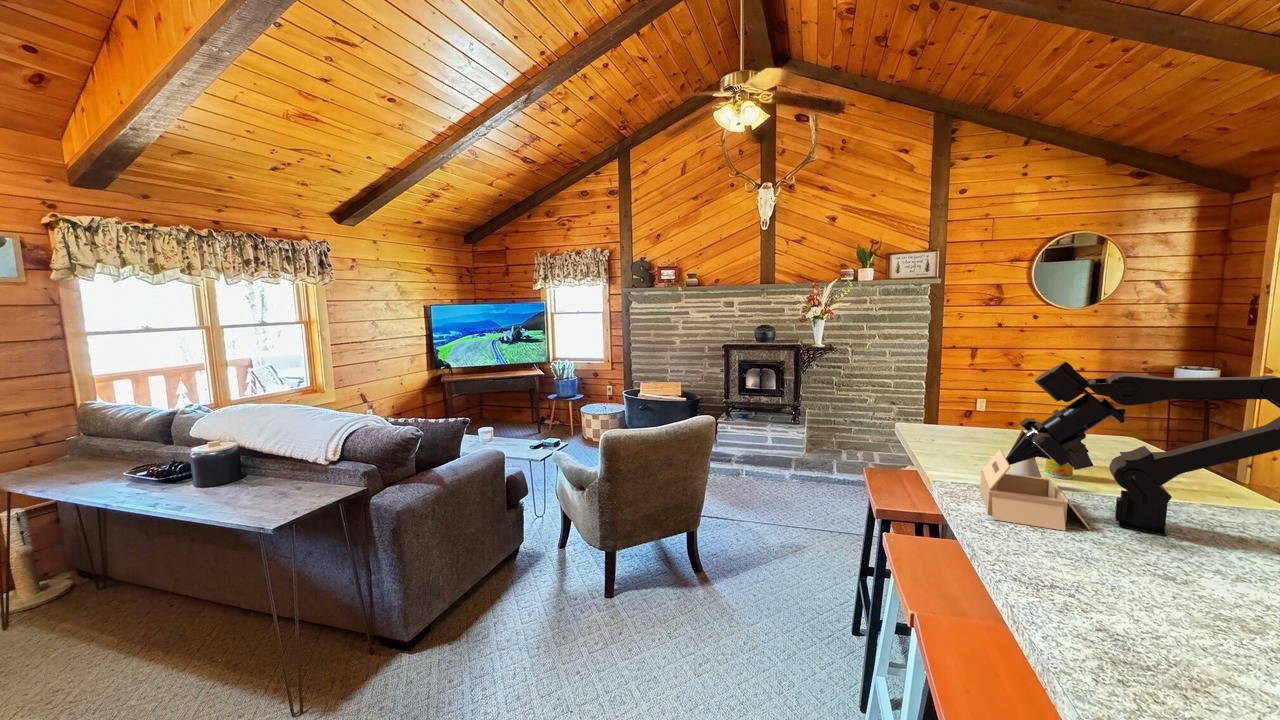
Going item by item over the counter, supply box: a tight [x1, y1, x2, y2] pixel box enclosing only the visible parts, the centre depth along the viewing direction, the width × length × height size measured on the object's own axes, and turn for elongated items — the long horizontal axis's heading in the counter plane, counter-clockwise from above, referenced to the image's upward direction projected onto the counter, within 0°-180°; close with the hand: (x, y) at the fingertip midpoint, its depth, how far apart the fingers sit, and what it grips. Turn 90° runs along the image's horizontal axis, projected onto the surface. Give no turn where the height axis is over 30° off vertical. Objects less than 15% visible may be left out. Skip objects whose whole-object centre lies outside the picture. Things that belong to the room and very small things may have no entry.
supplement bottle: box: [1044, 458, 1074, 480], centre depth 126 cm, size 5×5×10 cm
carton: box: [979, 470, 1091, 532], centre depth 107 cm, size 17×20×5 cm
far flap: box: [981, 448, 1011, 489], centre depth 109 cm, size 1×14×6 cm
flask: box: [1008, 457, 1043, 478], centre depth 121 cm, size 7×7×10 cm
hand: (1006, 463), depth 108 cm, fingers closed
